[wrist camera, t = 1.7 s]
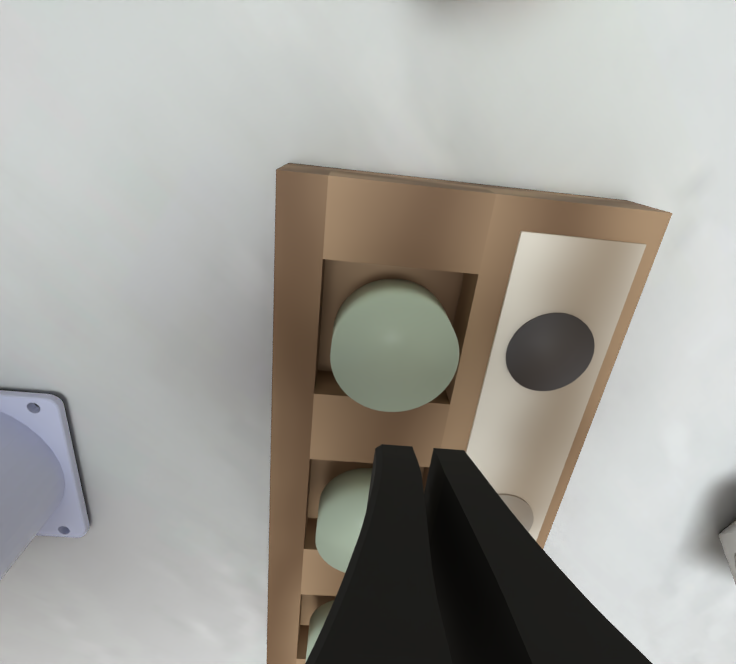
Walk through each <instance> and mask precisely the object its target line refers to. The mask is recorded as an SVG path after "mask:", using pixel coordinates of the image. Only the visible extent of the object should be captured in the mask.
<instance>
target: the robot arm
mask: <svg viewBox="0 0 736 664" xmlns="http://www.w3.org/2000/svg"><path fill="white" fill-rule="evenodd" d="M34 403H36V404H37V405H39V407H37V406H36V405H35V404H34ZM89 527H90V525H89V520H88V516H87V511H86V506H85V502H84V497H83V492H82V487H81V483H80V478H79V473H78V469H77V464H76V459H75V455H74V450H73V445H72V441H71V436H70V431H69V426H68V422H67V417H66V412H65V408H64V404H63V402H62V400H61V399H60V398H59V397H57V396H55V395H51V394H43V393H30V392H16V391H3V390H0V580H1V579H2V578H3V576H4V575H5V574H6V572H7V571H8V570H9V569H10V567H11V566H12V565H13V564H14V562H15V561H16V560H17V558H18V557H19V556H20V555H21V553H22V552H23V551H24V550H25V548H26V547H27V546H28V544H29V543H30V542H31V541H32V539H33V538H34V537H35V536H36V535H40V536H58V537H75V538H77V537H82V536H84V535H85V534H86V533H87V531H88V530H89ZM305 664H652V663H651V662H650V661H649V660H648V659H647V658H646V657H645V656H644V655H643V654H642V653H641V652H640V651H639V650H638V649H637V648H636V647H635V646H634V645H633V644H632V643H631V642H630V641H629V640H628V639H627V638H626V637H625V636H624V635H623V634H622V633H621V632H619V631H618V630H617V629H616V628H615V627H614V626H613V625H612V624H611V623H610V622H609V621H608V620H607V619H606V618H605V617H604V616H603V615H602V614H601V613H600V612H599V611H598V610H597V608H596V607H595V606H594V605H593V604H592V603H591V602H590V601H589V600H588V599H587V598H586V597H585V596H584V595H583V594H582V593H581V592H580V590H579V589H578V588H577V587H576V586H575V585H574V584H573V583H572V582H571V581H570V580H569V578H568V577H567V576H566V575H565V574H564V573H563V572H562V571H561V570H560V569H559V567H558V566H557V565H556V564H555V563H554V562H553V561H552V560H551V558H550V557H549V556H548V555H547V554H546V553H545V551H544V550H543V549H542V548H541V547H540V545H539V544H538V543H537V542H536V541H535V539H534V538H533V537H532V536H531V535H530V533H529V532H528V531H527V530H526V529H525V527H524V526H523V525H522V524H521V523H520V521H519V520H518V519H517V518H516V516H515V515H514V514H513V513H512V511H511V510H510V509H509V508H508V506H507V505H506V504H505V503H504V501H503V500H502V499H501V497H500V496H499V495H498V494H497V492H496V491H495V490H494V488H493V487H492V486H491V484H490V483H489V482H488V481H487V479H486V478H485V477H484V475H483V474H482V473H481V471H480V470H479V469H478V467H477V466H476V465H475V464H474V462H473V461H472V460H471V458H470V457H469V456H468V455H467V453H466V452H465V451H464V450H455V449H441V448H433V453H432V457H431V462H430V467H429V472H428V476H427V481H426V486H425V491H423V482H422V474H421V470H420V467H419V463H418V460H417V457H416V455H415V452H414V449H413V447H412V446H400V445H386V444H381V445H380V446H378V447H377V448H375V453H374V460H373V467H372V474H371V481H370V488H369V495H368V502H367V509H366V514H365V517H364V521H363V524H362V528H361V531H360V534H359V537H358V540H357V543H356V545H355V548H354V551H353V554H352V556H351V559H350V562H349V564H348V567H347V570H346V573H345V575H344V578H343V580H342V583H341V585H340V588H339V590H338V593H337V595H336V597H335V600H334V602H333V604H332V607H331V609H330V611H329V614H328V616H327V618H326V620H325V623H324V625H323V627H322V629H321V631H320V634H319V636H318V638H317V640H316V642H315V644H314V647H313V649H312V651H311V653H310V655H309V657H308V659H307V661H306V663H305Z"/></svg>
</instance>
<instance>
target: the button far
mask: <svg viewBox="0 0 736 664" xmlns="http://www.w3.org/2000/svg"><path fill="white" fill-rule="evenodd" d="M333 602H334V600H332V601H330V602H327V603H325V604H323V605H321V606H320V607H319V608H317V609H316V610H315V611H314V612H313V614H312V616H311V618H310V622H309V632H308V642H307V652H306V661H307V659H308V657H309V655H310V653H311V651H312V649H313V647H314V644H315V642H316V640H317V638H318V636H319V634H320V631H321V629H322V627H323V625H324V623H325V620H326V618H327V616H328V614H329V611H330V609H331V607H332V604H333Z"/></svg>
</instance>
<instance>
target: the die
mask: <svg viewBox="0 0 736 664" xmlns="http://www.w3.org/2000/svg"><path fill="white" fill-rule="evenodd" d="M718 535H719V538H720V541H721V544H722V547H723V550H724V552H725V555H726V558H727V561H728V564H729V567H730V570H731V572H732V575H733V578H734V581H735V584H736V520H735V521H734V522H732V523H731V524H730V525H729V526H728V527H727V528H725V529H724V530H723V531H722V532H721V533H720V534H718Z"/></svg>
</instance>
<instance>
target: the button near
mask: <svg viewBox="0 0 736 664" xmlns="http://www.w3.org/2000/svg"><path fill="white" fill-rule="evenodd" d="M458 361H459V345H458V340H457V337H456V334H455V332H454V329H453V327H452V325H451V323H450V321H449V319H448V317H447V314H446V312H445V310H444V308H443V306H442V304H441V303H440V302H439V300H438V299H437V298H436V297H435V296H434V294H432V293H431V292H430V291H429V290H428V289H426V288H424V287H423V286H421V285H419V284H417V283H415V282H411V281H408V280H403V279H382V280H377V281H374V282H371V283H368V284H366V285H364V286H362V287H360V288H359V289H357V290H356V291H354V292H353V293H352V294H351V295H350V296H349V297H348V298H347V299H346V300H345V301H344V302H343V304H342V305H341V307H340V308H339V311H338V313H337V315H336V318H335V321H334V327H333V335H332V344H331V352H330V362H331V368H332V371H333V375H334V377H335V379H336V381H337V383H338V384H339V386H340V388H341V389H342V390H343V391H344V392H345V393H346V394H347V395H348V396H349V397H350V398H351V399H353V400H354V401H356V402H357V403H359V404H361V405H363V406H365V407H368V408H370V409H374V410H378V411H385V412H400V411H407V410H411V409H414V408H418V407H420V406H422V405H425V404H427V403H428V402H430V401H432V400H433V399H434V398H436V397H437V396H438V395H440V394H441V393H442V392H443V391H444V390H445V388H446V387H447V386H448V385H449V383H450V382H451V380H452V378H453V377H454V374H455V372H456V369H457V366H458Z"/></svg>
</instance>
